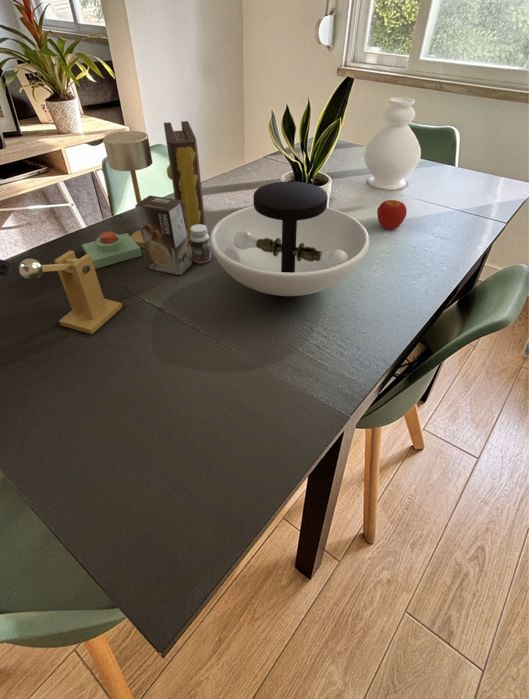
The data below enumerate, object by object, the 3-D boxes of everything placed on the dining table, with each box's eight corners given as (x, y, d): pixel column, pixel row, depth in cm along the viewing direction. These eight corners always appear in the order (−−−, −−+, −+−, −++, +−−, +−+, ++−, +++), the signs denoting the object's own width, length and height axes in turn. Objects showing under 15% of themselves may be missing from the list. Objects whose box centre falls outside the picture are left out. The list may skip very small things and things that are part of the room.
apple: (402, 222, 122) (407, 195, 117) (403, 234, 116) (410, 207, 111) (374, 220, 123) (379, 193, 118) (375, 232, 117) (379, 205, 112)
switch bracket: (91, 334, 85) (70, 274, 76) (60, 325, 87) (36, 266, 78) (122, 307, 92) (106, 249, 83) (92, 299, 94) (73, 242, 85)
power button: (104, 245, 105) (102, 239, 104) (100, 240, 108) (98, 233, 107) (118, 242, 107) (117, 235, 106) (114, 236, 109) (112, 230, 108)
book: (211, 241, 115) (202, 141, 98) (180, 245, 113) (164, 144, 97) (200, 208, 131) (190, 118, 114) (172, 211, 129) (158, 120, 113)
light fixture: (221, 339, 84) (211, 239, 70) (210, 256, 108) (202, 171, 94) (382, 321, 87) (403, 224, 73) (336, 246, 112) (346, 162, 98)
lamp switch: (30, 282, 71) (29, 261, 70) (14, 278, 72) (13, 257, 71) (87, 276, 83) (88, 257, 82) (73, 272, 84) (73, 254, 83)
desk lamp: (135, 253, 110) (110, 145, 93) (123, 238, 116) (97, 135, 99) (171, 243, 114) (154, 138, 97) (157, 229, 120) (138, 128, 103)
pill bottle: (188, 260, 107) (183, 229, 101) (200, 252, 110) (197, 221, 104) (202, 265, 105) (199, 234, 99) (215, 257, 108) (212, 226, 102)
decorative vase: (423, 182, 146) (443, 99, 129) (396, 197, 136) (414, 109, 119) (378, 170, 155) (391, 91, 138) (350, 183, 145) (360, 100, 129)
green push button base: (95, 269, 104) (90, 254, 101) (84, 252, 110) (79, 238, 108) (142, 255, 109) (138, 241, 106) (129, 240, 115) (125, 226, 113)
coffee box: (193, 263, 106) (184, 199, 95) (180, 276, 101) (169, 211, 91) (161, 256, 108) (149, 194, 98) (147, 269, 104) (133, 205, 93)
